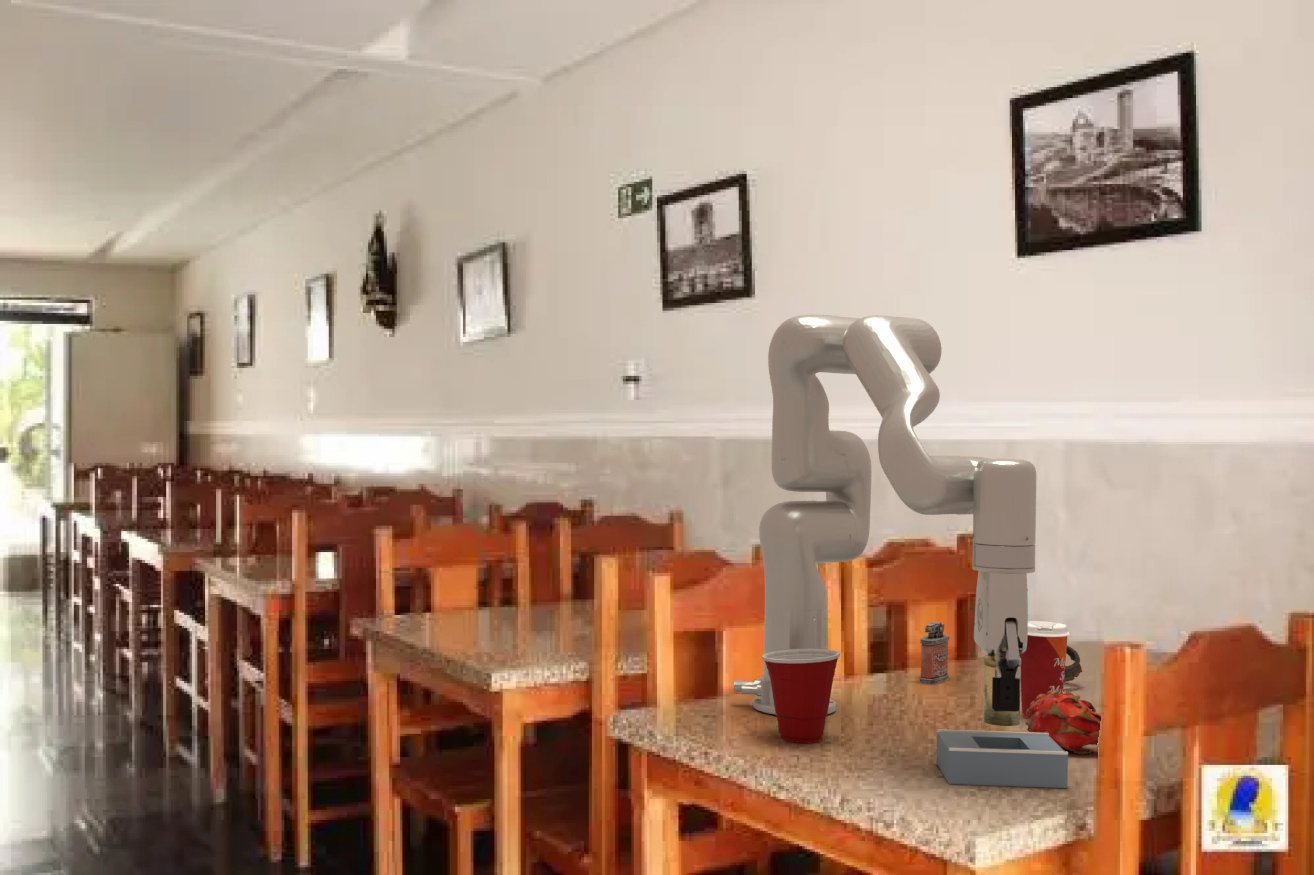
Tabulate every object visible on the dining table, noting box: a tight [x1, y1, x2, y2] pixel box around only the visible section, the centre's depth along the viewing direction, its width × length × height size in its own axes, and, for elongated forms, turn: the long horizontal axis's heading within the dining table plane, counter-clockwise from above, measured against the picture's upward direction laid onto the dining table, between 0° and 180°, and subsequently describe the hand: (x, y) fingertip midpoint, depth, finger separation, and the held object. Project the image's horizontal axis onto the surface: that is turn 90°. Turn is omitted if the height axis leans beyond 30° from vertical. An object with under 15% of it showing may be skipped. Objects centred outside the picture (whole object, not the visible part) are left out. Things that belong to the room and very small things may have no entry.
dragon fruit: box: [1025, 690, 1101, 755], centre depth 173 cm, size 8×8×12 cm
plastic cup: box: [761, 648, 841, 744], centre depth 176 cm, size 11×11×12 cm
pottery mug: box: [1064, 645, 1083, 683], centre depth 219 cm, size 12×10×8 cm
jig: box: [935, 728, 1069, 789], centre depth 159 cm, size 14×10×4 cm
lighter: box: [919, 621, 950, 685], centre depth 220 cm, size 8×3×10 cm, turn 144°
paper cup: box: [1019, 620, 1071, 720], centre depth 193 cm, size 8×8×14 cm
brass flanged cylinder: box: [982, 654, 1021, 727], centre depth 159 cm, size 4×4×8 cm
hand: (1001, 704), depth 159 cm, fingers closed on brass flanged cylinder, 4 cm apart
